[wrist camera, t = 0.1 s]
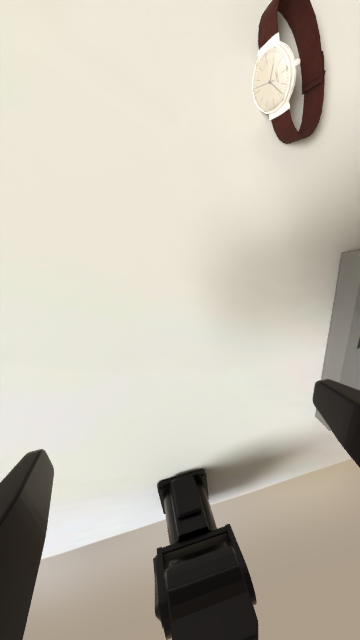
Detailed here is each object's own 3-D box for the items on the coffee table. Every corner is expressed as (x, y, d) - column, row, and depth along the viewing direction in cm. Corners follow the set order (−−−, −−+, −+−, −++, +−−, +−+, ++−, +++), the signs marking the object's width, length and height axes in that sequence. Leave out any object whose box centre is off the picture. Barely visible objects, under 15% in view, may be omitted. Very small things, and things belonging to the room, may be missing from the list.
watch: (236, 25, 15) (265, -27, 12) (299, -3, 16) (346, -62, 12) (262, 157, 19) (291, 144, 16) (315, 133, 19) (354, 115, 16)
